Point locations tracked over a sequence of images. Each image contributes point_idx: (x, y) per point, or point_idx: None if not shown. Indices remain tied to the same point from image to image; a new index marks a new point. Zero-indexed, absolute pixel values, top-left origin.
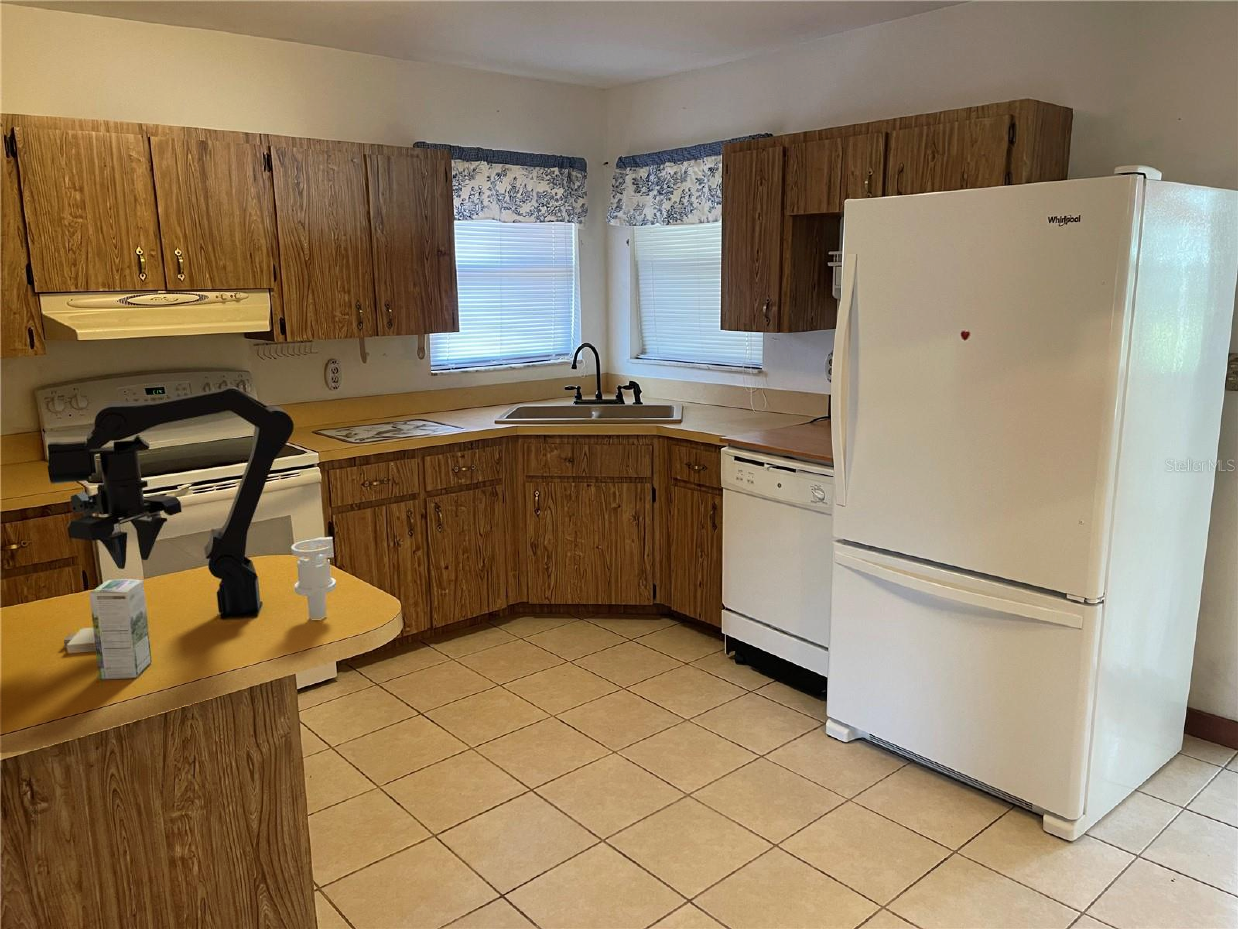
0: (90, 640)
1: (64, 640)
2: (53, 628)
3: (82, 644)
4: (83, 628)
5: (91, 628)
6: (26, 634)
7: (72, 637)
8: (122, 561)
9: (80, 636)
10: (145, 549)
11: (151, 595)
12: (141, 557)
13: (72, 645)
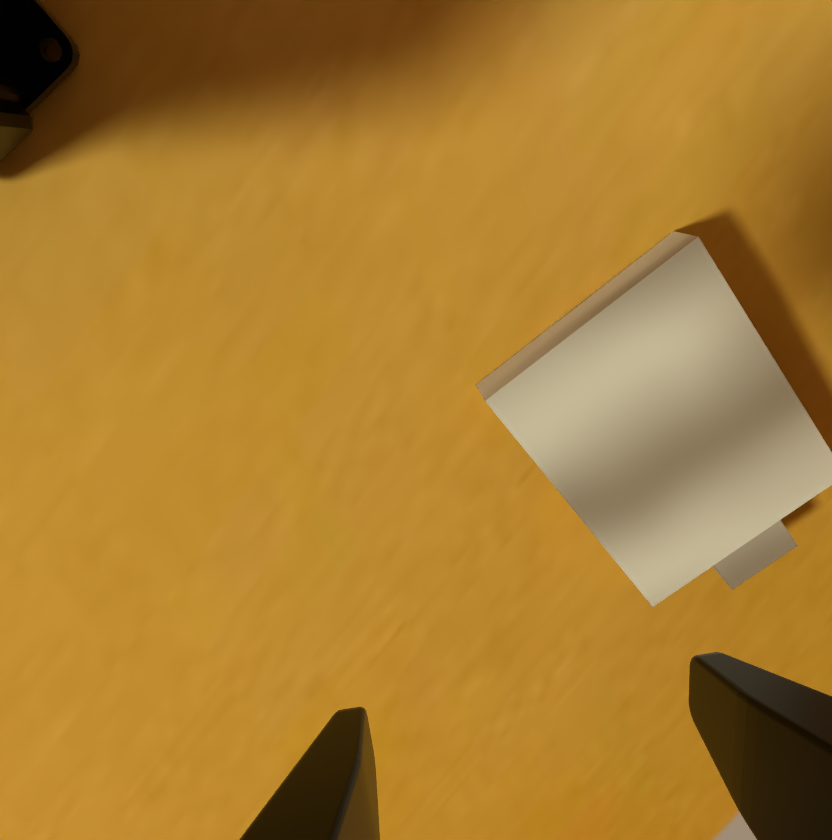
0: (765, 420)
1: (795, 542)
2: (606, 766)
3: (808, 418)
4: (649, 598)
5: (635, 564)
6: (694, 793)
7: (759, 539)
8: (817, 691)
9: (737, 516)
10: (363, 827)
11: (95, 770)
12: (374, 784)
13: (829, 454)
